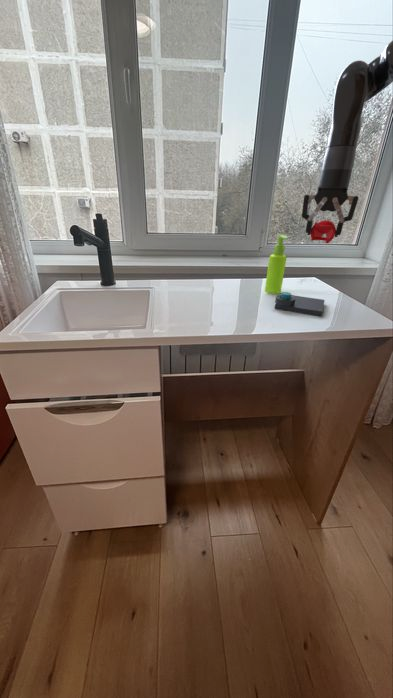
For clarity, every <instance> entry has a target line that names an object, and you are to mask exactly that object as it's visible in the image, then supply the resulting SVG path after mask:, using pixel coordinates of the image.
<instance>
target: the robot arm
mask: <svg viewBox="0 0 393 698" xmlns="http://www.w3.org/2000/svg"><path fill="white" fill-rule="evenodd" d="M391 84H393V40H391V41H390V42H389V43H388V44H387V45H386V46H385V48H384V50H383V52H382V53H380V55H378V56H377V57H375V58H374V59H373V60H371V61H370V62H369V63H368V62H365V61H364V60H354V61H352V62H350V63H349V64H347V66H346V67H345V68H344V69H343V70H342V72H341V73H340V75H339V77H338V80H337V82H336V86H335V90H334V97H333V106H332V117H331V118H332V120H331V126H330V131H329V135H328V139H327V145H326V150H325V153H324V156H323V159H322V166H321V171H320V174H319V175H320V176H319V181H318V185H317V189H316V193H315V194H305V195H304V196H303V201H302V203H303V204H302V211H301V218H302V219H305V220H306V221H307V223H306V227H305V233H306V235H307V236H311V229H312V227H313V225H314V221H313V220H314V218H315V217H316V216H317V214H318V213H320V211H321V212H327V211H328V212H332V213H333V212H336V215H337V218H338V220H339V221H338V222H337V225H336V234H335V236H334V238H338V236H341V234H342V232H343V227H344V224H345V223H346V222H349V221H352V220H353V217H354V215H355V214H354V213H355V211H356V208H357V206H358V201H359V198H360V197H359V195H349V194H348V190H349V186H350V181H351V178H352V173H353V169H354V166H355V160H356V155H357V147H358V144H359V139H360V134H361V130H362V114H363V110H364V106H365V103H367V102H368V101H369V100H371V99H372V98H374V97H375V96H377V95H378V94H380V93H381V92H382V91H383V90H385V89H386V88H388V87H389V86H390V85H391ZM313 200H314V201H315V204H316V206H315V208H314V209H313V211H311V214H308V211H309V204H311V203H312V201H313ZM346 201H348V205H350V207H349V209H348V210H349V211H348V214H347V215H346V216H344V213H343V210H342V208H341V207H342V205H344V203H345V202H346Z"/></svg>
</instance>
